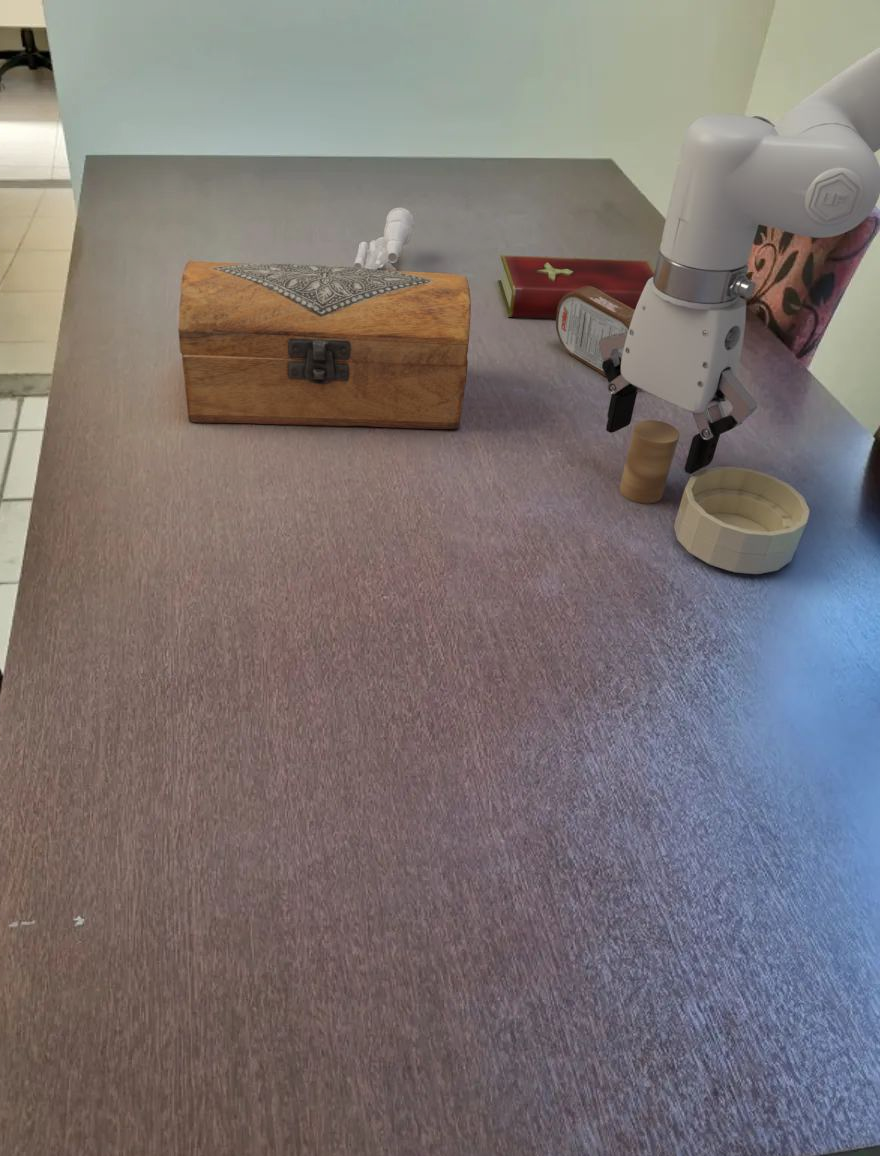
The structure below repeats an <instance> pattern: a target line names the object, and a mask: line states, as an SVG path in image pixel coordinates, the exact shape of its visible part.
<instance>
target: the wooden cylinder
mask: <svg viewBox="0 0 880 1156" xmlns="http://www.w3.org/2000/svg"><path fill="white" fill-rule="evenodd" d="M679 439H680V432H679V430H678V429H677V428H676V427H675V426H673V425H672V424H670V423H668V422H665V421H662V420H656V419H644V420H642V421H638V422H637V423H636V424H635V425H634V427H633V430H632V434H631V439H630V442H629V447H628V451H627V455H626V459H625V464H624V467H623V471H622V475H621V479H620V483H619V487H618V488H619V492H620V494H621V495H622V496H623V497H624V498H626V499H627V500H629V501H632V502H634V503H637V504H646V505H647V504H654V503H657V502H659V501H660V500H661V499H663V495H664V492H665V488H666V485H667V481H668V478H669V474H670V472H671V471H670V470H671V468H672V464H673V460H674V456H675V454H676V450H677V446H678V442H679Z"/></svg>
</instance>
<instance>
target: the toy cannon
mask: <svg viewBox="0 0 880 1156" xmlns="http://www.w3.org/2000/svg"><path fill="white" fill-rule="evenodd" d="M414 226H415V219H414V216H413V214H412V213H411V212H410V211H409V210H408V209H407V208H404V207H396V208H393V209H391V210H390V211H389V212H388V214H387V216H386V218H385V225H384V228H383V236H380V237H378V238H377V239H373V240H371V241H370V242H369V244H368V243H367V242H366V241H360V242H359V243H358V250H357V254H356V257H355V258H354V263H353V265H352V267H355V268H369V269H377V270H379V269H382V268H383V267H384V268H385V269H386V270H387V271H397V269H396V268H395V267H394V265H392V264H393V263H396V262H397V261H398V260H399V257H400V256H401V255H402V254H403V252H404V247H405V246H406V245H408V243H410V241H411V239H412V233H413V229H414ZM365 257H366V261H365Z"/></svg>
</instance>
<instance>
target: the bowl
mask: <svg viewBox="0 0 880 1156" xmlns="http://www.w3.org/2000/svg"><path fill="white" fill-rule="evenodd" d="M810 513H811V510H810V508H809V505H808V503H807V501H806V499H805V497H804V496H803V495H802V494H801V493H800V492H799V491H797V490H796V489H795V488H794V487H793V486H792V485H791V484H790V483H787V482H786V481H783V480H782V479H779V478H777V477H775V476H774V475H772V474H769V473H765V472H763V471H758V470H754V469H751V468H748V467H737V466H718V467H710V468H705V469H701V470H700V471H699V472H697V473H695V474H693V475H691V476H690V477H689V479H688V481H687V483H686V485H685V487H684V490H683V493H682V497H681V500H680V503H679V507H678V509H677V514H676V517H675V521H674V523H673V529H674V532H675V537H676V539H677V541H678V542H679V543H680V544H681V545H682V546H683V548H684V549H685V550H686V551H687V552H688V553H689V554H691V555H692V556H694V557H696V558H697V559H700V560H701V561H702V562H705V563H706V564H708V565H710V566H713V567H716V568H719V569H722V570H726V571H728V572H732V573H739V574H748V575H749V574H750V575H751V574H752V575H760V574H765V573H770V572H772V573H773V572H777V571H779V570H781V569H782V568H783V567H785V566H786V565H788V564H789V563H790V562H791V561H792V560H793V558H794V555H795V553H796V551H797V548H798V545H799V543H800V541H801V538H802V535H803V533H804V530H805V528H806V525H807V523H808V521H809V517H810Z"/></svg>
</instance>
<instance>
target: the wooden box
mask: <svg viewBox="0 0 880 1156" xmlns="http://www.w3.org/2000/svg"><path fill="white" fill-rule="evenodd" d="M470 291H471V290H470V283H469V280H468V277H467V276H465V275H462V274H458V273H448V272H447V273H445V272H426V271H425V272H424V271H402V270H395V271H388V269H369V268H355V267H353V266H337V265H335V266H334V265H319V264H296V263H243V262H214V261H213V262H211V261H199V260H189V261H188V262H186V264H185V266H184V270H183V272H182V278H181V284H180V299H179V307H178V308H179V309H178V329H177V330H178V343H179V352H180V354H181V360H182V361H181V362H182V369H183V381H184V387H185V388H184V390H185V391H184V392H185V399H186V409H187V417H188V418H187V419H188V421H189V422H193V423H210V424H212V423H214V424H215V423H216V424H217V423H222V424H224V423H225V424H226V423H227V424H230V423H231V424H260V425H261V424H262V425H268V424H269V425H297V426H298V425H302V426H330V427H331V426H332V427H334V426H338V427H357V426H358V427H359V426H360V427H370V428H373V427H374V428H400V429H419V430H420V429H421V430H422V429H423V430H425V429H426V430H454V429H455V430H456V429H459V428H460V424H461V418H462V417H461V416H462V409H463V401H464V396H465V390H466V382H467V374H468V366H469V365H468V364H469V362H468V361H469V360H468V353H469V343H470V331H471V318H472V317H471V315H472V299H471V292H470Z"/></svg>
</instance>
